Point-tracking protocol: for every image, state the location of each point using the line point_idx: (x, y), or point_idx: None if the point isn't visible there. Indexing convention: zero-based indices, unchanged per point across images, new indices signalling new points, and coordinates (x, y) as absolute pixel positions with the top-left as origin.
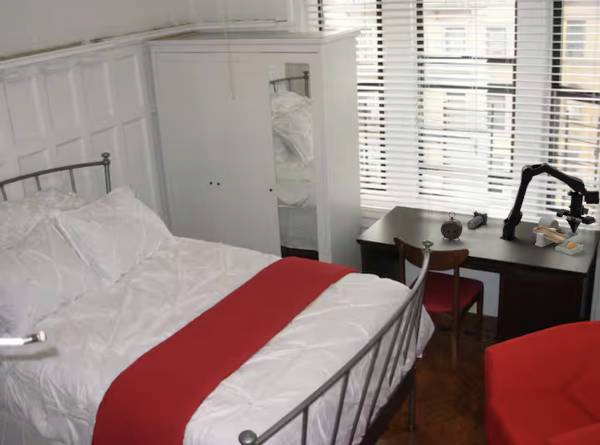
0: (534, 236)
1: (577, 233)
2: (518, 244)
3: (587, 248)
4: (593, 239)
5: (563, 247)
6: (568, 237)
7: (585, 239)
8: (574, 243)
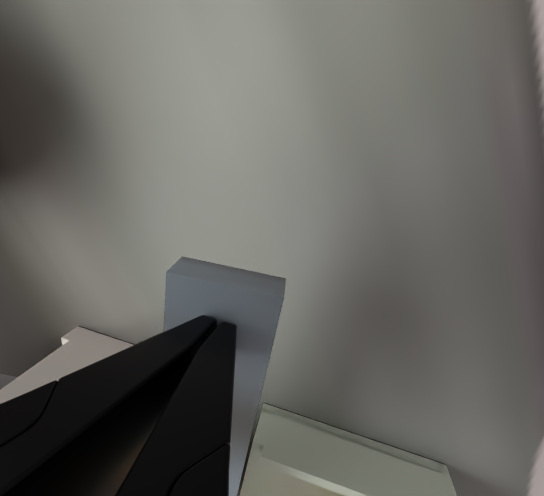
0: None
1: (279, 313)
2: None
3: (483, 409)
4: (515, 33)
5: (265, 476)
6: (239, 483)
7: (382, 126)
8: (345, 493)
